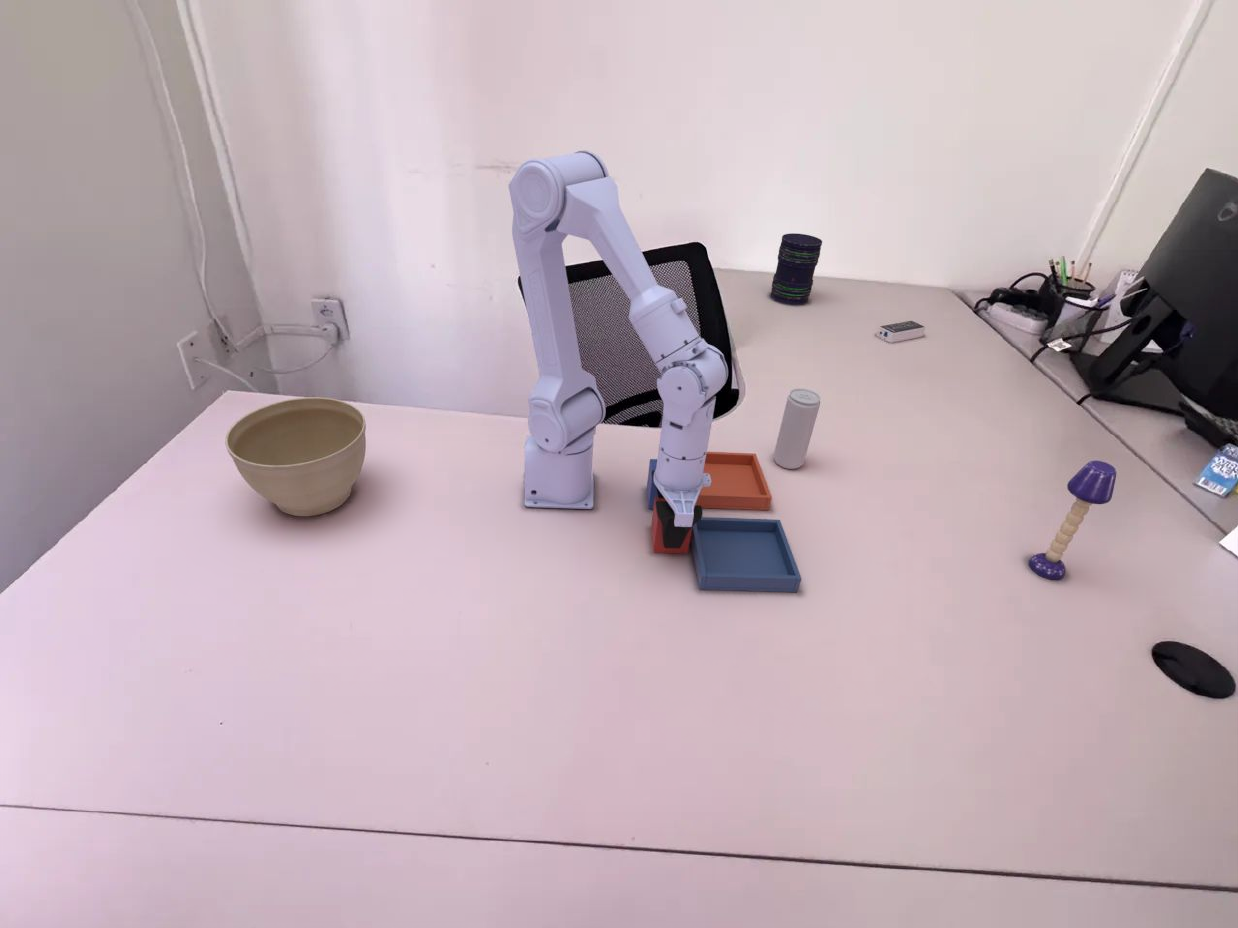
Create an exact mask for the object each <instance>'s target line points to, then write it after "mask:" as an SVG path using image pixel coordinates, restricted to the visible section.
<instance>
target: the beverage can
mask: <svg viewBox="0 0 1238 928" xmlns="http://www.w3.org/2000/svg"><path fill="white" fill-rule="evenodd" d="M821 398H822V397H821V395H820V394H818V393H817V392H816V391H814V390H812V389H807V388H793V389H792V390H790V391H789V394H788V396H787V398H786V403H785V407H784V411H783V416H782V419H781V422H780V426H779V431H778V435H777V439H776V443H775V448H774V452H773V456H772V457H773V460H774V462H775V463H776V464H777V465H778V466H779V467H782V468H783V469H788V470H796V469H798V468H800V467H802V466H803V465H804V463H805V460H806V456H807V453H808V449H809V445H810V442H811V439H812V435H813V432H814V427H815V424H816V421H817V417H818V413H819V409H820V406H821V400H822V399H821Z"/></svg>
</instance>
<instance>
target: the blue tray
mask: <svg viewBox="0 0 1238 928" xmlns="http://www.w3.org/2000/svg"><path fill="white" fill-rule="evenodd" d="M690 546H691V551H692V557H693V562H694V563H693V564H694V568H695V573H696V574H695V575H696V579H697V584H698V590H700V591H703V590H704V591H708V590H709V591H736V592H737V591H740V592H774V593H775V592H778V593H798V592H799V588H800V586H801V582H802V576H801V574H800V571H799V568H798V565H797V562H796V560H795V558H794V555H793V551H792V549H791V547H790V543H789V541H788V537H787V535H786V533H785V529H784V526H783V524H782V522H781V519H767V518H743V517H742V518H739V517H715V516H714V517H712V516H702V517H701V519H700V520H699V521H698V522H696V523H695V524H694V525H693V526H692V532H691V537H690Z"/></svg>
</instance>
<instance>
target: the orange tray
mask: <svg viewBox="0 0 1238 928" xmlns="http://www.w3.org/2000/svg"><path fill="white" fill-rule="evenodd" d="M703 473H708V474H709V475H710V477H711V486H709V487H702V489H701V491H700V494H699V496H698V499H697V502H696V504H695V505H699V506H701V507H702V509H718V510H719V509H721V510H722V509H723V510H748V511H749V510H751V511H752V510H753V511H769V510H770V507H771V503H772V500H773V497H772V495H771V491H770V489H769V487H768V484H767V480H766V478H765V475H764V473H763V470H762V466H761V464H760V461H759V459H758V456H757V454H756V453H751V452H749V453H748V452H725V451H724V452H723V451H707V453H706V459H705V465H704V470H703Z"/></svg>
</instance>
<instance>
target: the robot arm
mask: <svg viewBox="0 0 1238 928" xmlns="http://www.w3.org/2000/svg"><path fill="white" fill-rule="evenodd" d="M508 191H509V196H510V200H511V206H512V211H513V214H512V215H513V216H512V223H511V224H512V225H511V234H512V235H511V236H512V241H513V247H514V251H515V256H516V263H517V266H518V272H519V276H520V282H521V287H522V292H523V293H522V294H523V298H524V303H525V308H526V313H527V319H528V323H529V328H530V332H531V337H532V344H533V348H534V353H535V358H536V359H535V360H536V364H537V369H538V374H539V376H538V378H537V380H536V382H535V384H534V385H533V388H532V389H531V392H530V393H529V395H528V398H527V400H528V405H529V414H528V418H527V426H528V430H529V433H530V434H529V435H526V438H525V444H524V445H525V447H524V463H523V464H524V467H523V468H524V470H523V484H524V507H526V508H546V509H547V508H549V509H573V510H574V509H575V510H577V509H579V510H592V509H594V474H593V473H592V472H593V456H594V455H593V454H594V439H595V437H594V436H595V435H596V434H597V433H596V431H597V426H598V425H600V424H601V423H602V422H603V421H604V420H605V418H606V413H607V412H606V409H607V408H606V402H605V401H604V398H603V396H602V395H601V393H600V391H599V389H598V386H597V381H596V377H595V375H593V374H592V373H590V372H589V371H587V370H584V369H583V367H582V361H581V354H580V349H579V342H578V336H577V330H576V325H575V323H576V322H575V317H574V311H573V306H572V300H571V299H572V298H571V294H570V288H569V280H568V275H567V268H566V264H565V263H566V262H565V257H564V252H563V242H564V241H565V239H566V238H567V237H568V235H569V236H573V237H577V238H580V239H584V240H587V241H589V243H591V245H592V246H593V247H594V249H595V251H596V252H597V253H598V255H599V256H600V258H601V260H602V261H603V263H604V264H605V266H606V267H607V268H608V270H609V272H610V273H611V274H612V276H613V277H614V279H615V280H616V282H617V283H618V285H619V286H620V288H621V289H622V291H623V292H624V293H625V295H626V296H627V298H628V299H629V301H630V305H629V306H630V307H629V313H628V320H629V322H630V324H631V326H632V327H633V329H634V331H635V332H636V334H637V335H638V337H639V339H640V341H641V342H642V344H643V346H644V347H645V350H646V351H647V353H648V354H649V356H650V358H651V359H652V361H653V363H654V365H655V366H656V368H657V370H658V371H659V373H660V377H659V378H656V387H657V391H658V394H659V396H660V398H661V400H662V403H663V409H662V420H661V427H660V437H659V444H658V451H657V458H656V459H657V467H656V469H655V470H653V471H652V480H653V482H654V484H655V487H656V490H657V493H658V498H665V499H666V501H656V503H655V504H656V512H657V515H658V518H659V519H660V521H661V524H662V536H663V544H664V547H665V548H680V547H681V545H682V544H683V542H684V540H685V538H686V536H687V534H688V532H689V530H690V529H691V528H692V526H693V525H694V524H695V523H696V522H698V521H699V520H700V519H701V517H703V508H702V507H701V506H699V505H695V504H696V502H697V499H698V496H699V494H700V491H701V489H702V487H709V486H711V477H710V475H709V474H708V473H703V470H704V465H705V459H706V453H707V452H708V447H709V441H710V436H711V431H712V425H713V419H714V412H715V405H716V400H717V399H716V398H717V397H716V394H718V392H719V391H721V389H722V388H723V387H724V386H725V384H726V383H727V380H728V377H729V367H728V364H727V362H726V359H725V355H724V353H722V351H721V350H720V349H718V348H717V347H716V346H714V345H711V344H708V342H706V340H705V338H702V337H701V336H700V334H699V332H698V331H697V329H696V327H695V326H694V324H693V322H692V321H691V319H690V317H689V315H688V313H687V312H686V310H687V309H688V306H687V305H686V303H685V301H684V298H682V297H678V296H677V294H676V293H675V291H674V290H672V289H671V288H667V287H665V286H662V285H659V283H658V282H657V280H656V278H655V276H654V273H653V272H652V270H651V268H650V266H649V264H648V262H647V260H646V258H645V256H644V254H643V252H642V250H641V249H642V248H641V247H640V245H639V243H638V242H637V240H636V238H635V235H634V233H633V231H632V229H631V227H630V225H629V223H628V221H627V219H626V217H625V215H624V213H623V210H622V208H621V207H620V200H619V190H618V185H617V183H616V182H615V181H614V179H613V177H611V175H610V174H609V171H608V168H607V166H606V164H605V163H604V161H603V160H602V159H601V157H600V156H599V155H597V154H596V153H595V152H593V151H591V150H585V149H584V150H583V149H581V150H578V151H576V152H573V153H568V154H562V155H556V156H551V157H544V158H530V159H527V160H526V161H524V162H523V163H522V164H520V166H519V168H518V169H517V170H516V172H515V173H514V175H513V177H512V178H511V180H510V181H509V183H508Z"/></svg>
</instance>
